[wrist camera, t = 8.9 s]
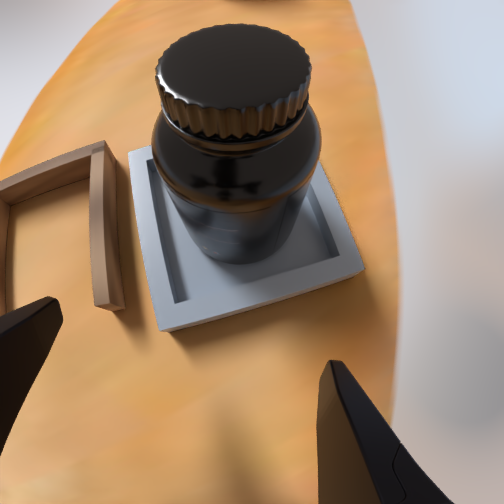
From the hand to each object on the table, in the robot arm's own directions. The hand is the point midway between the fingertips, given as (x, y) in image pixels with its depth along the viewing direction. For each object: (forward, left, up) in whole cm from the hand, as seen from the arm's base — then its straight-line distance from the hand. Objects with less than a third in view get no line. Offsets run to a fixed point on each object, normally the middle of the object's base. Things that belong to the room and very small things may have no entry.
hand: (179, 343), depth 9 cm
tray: (+7, -4, -9) cm, 12 cm away
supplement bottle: (+7, -4, -9) cm, 12 cm away
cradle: (+9, +10, -9) cm, 17 cm away
